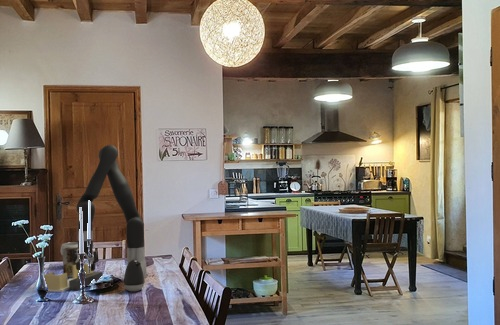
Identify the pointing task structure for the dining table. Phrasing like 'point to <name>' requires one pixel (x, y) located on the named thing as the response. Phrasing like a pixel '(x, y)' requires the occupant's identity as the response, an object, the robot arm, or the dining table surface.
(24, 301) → the dining table surface
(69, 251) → the coffee box
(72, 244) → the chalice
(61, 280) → the bracket board
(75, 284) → the rail
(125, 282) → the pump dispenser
